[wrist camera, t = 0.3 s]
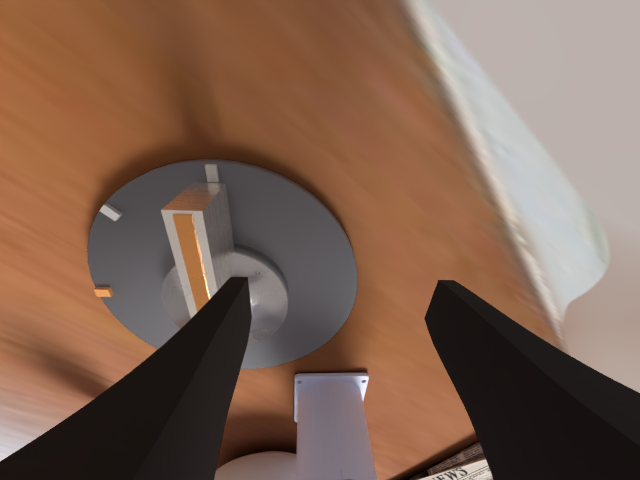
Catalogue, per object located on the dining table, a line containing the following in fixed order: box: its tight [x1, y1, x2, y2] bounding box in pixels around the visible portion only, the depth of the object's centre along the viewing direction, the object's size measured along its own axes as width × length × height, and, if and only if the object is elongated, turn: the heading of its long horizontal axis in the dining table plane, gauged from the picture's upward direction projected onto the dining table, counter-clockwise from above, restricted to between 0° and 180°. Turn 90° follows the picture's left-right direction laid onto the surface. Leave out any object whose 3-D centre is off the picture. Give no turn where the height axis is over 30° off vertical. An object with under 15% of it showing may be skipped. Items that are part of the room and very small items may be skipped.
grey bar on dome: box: [161, 182, 289, 344], centre depth 17 cm, size 14×9×5 cm, turn 177°
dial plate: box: [87, 159, 358, 369], centre depth 20 cm, size 20×20×1 cm
